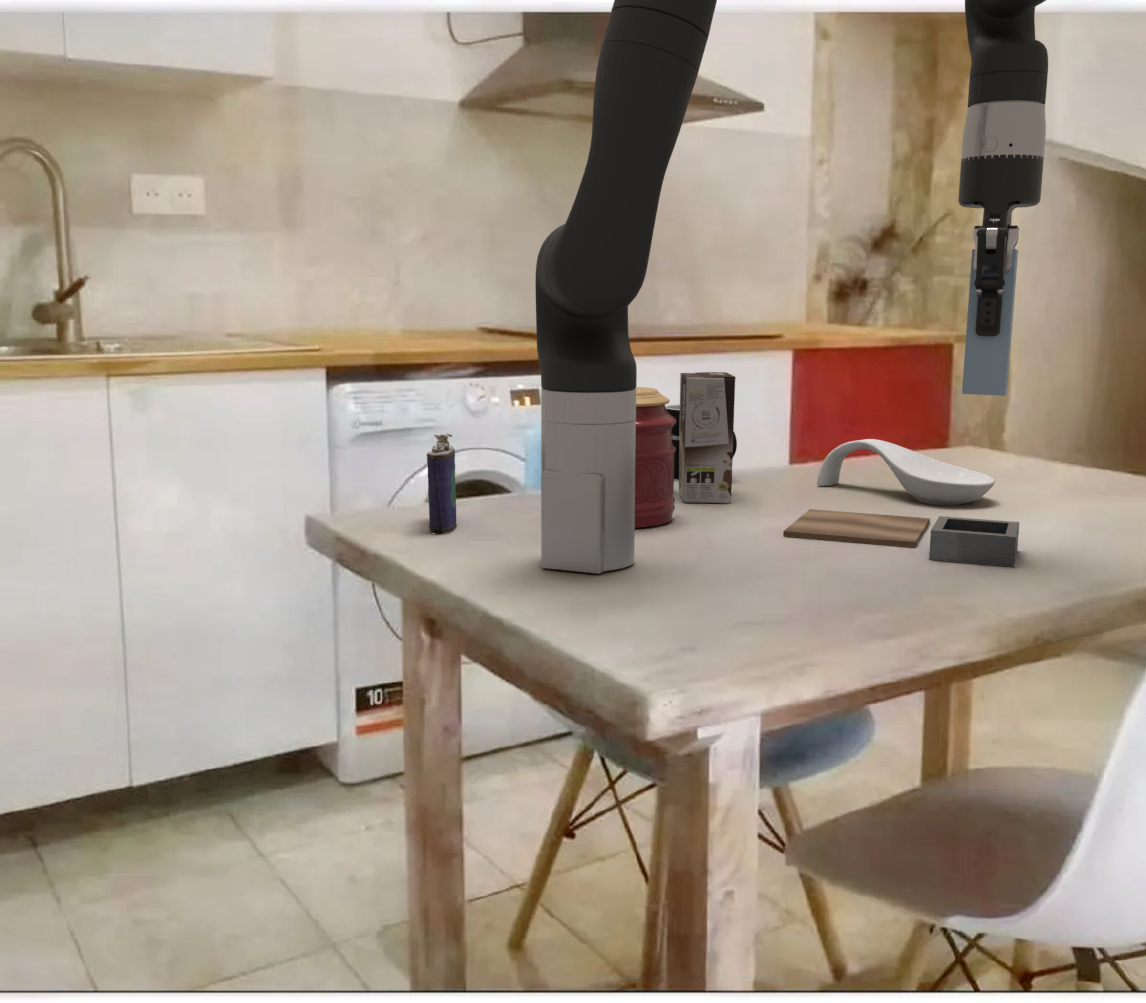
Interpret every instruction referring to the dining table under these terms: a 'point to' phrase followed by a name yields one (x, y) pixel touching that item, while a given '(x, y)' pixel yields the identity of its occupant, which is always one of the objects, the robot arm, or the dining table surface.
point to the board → (859, 528)
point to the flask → (442, 486)
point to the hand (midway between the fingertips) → (988, 334)
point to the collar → (974, 541)
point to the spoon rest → (914, 473)
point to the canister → (653, 459)
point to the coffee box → (706, 436)
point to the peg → (989, 341)
